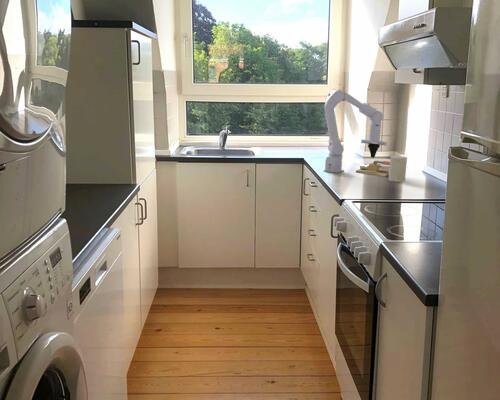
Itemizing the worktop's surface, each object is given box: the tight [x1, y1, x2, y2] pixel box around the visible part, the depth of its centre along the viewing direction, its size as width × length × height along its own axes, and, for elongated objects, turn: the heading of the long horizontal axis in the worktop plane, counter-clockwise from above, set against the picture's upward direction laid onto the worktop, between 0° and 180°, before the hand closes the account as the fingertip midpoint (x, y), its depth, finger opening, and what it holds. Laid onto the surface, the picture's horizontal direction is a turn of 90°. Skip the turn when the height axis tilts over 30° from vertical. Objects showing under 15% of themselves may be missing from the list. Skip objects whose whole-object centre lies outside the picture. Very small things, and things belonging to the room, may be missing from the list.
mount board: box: [355, 168, 389, 177], centre depth 306 cm, size 10×17×1 cm, turn 53°
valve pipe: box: [359, 162, 390, 173], centre depth 305 cm, size 4×16×4 cm, turn 53°
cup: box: [388, 155, 408, 183], centre depth 285 cm, size 8×8×12 cm
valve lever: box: [372, 160, 390, 166], centre depth 301 cm, size 12×2×2 cm, turn 49°
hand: (372, 157), depth 310 cm, fingers closed
